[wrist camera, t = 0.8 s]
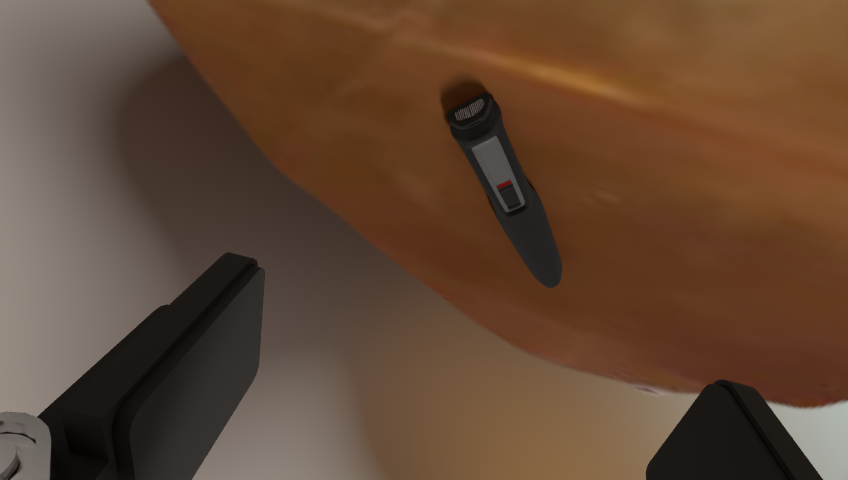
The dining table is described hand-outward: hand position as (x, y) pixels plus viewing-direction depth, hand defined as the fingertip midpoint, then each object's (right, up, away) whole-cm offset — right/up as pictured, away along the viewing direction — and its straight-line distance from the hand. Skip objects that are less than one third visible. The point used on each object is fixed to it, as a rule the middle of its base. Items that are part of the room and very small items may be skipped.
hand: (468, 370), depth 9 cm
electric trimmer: (+6, +7, +25) cm, 27 cm away
